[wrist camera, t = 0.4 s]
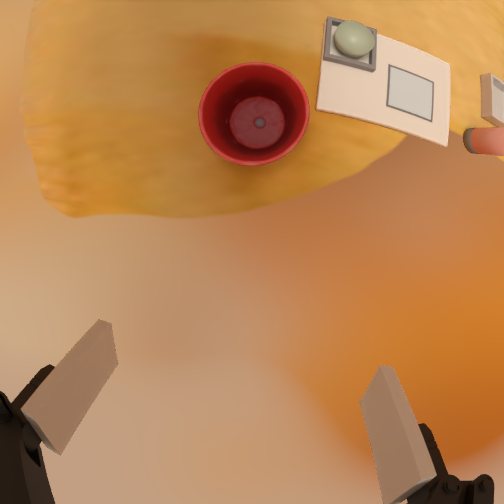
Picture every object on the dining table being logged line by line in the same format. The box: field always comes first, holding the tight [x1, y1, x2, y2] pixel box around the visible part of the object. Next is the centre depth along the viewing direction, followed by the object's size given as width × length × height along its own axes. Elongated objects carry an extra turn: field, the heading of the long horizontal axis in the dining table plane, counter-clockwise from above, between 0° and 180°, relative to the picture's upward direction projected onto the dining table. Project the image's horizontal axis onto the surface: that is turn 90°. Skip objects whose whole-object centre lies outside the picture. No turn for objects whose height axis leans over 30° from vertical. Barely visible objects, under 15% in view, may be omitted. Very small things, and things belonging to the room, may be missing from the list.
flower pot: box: [198, 62, 309, 166], centre depth 29 cm, size 11×11×10 cm
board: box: [315, 17, 450, 147], centre depth 28 cm, size 14×20×3 cm
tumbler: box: [463, 127, 504, 156], centre depth 24 cm, size 4×4×12 cm
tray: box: [481, 73, 504, 127], centre depth 26 cm, size 8×8×3 cm
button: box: [334, 21, 375, 58], centre depth 25 cm, size 5×5×2 cm
